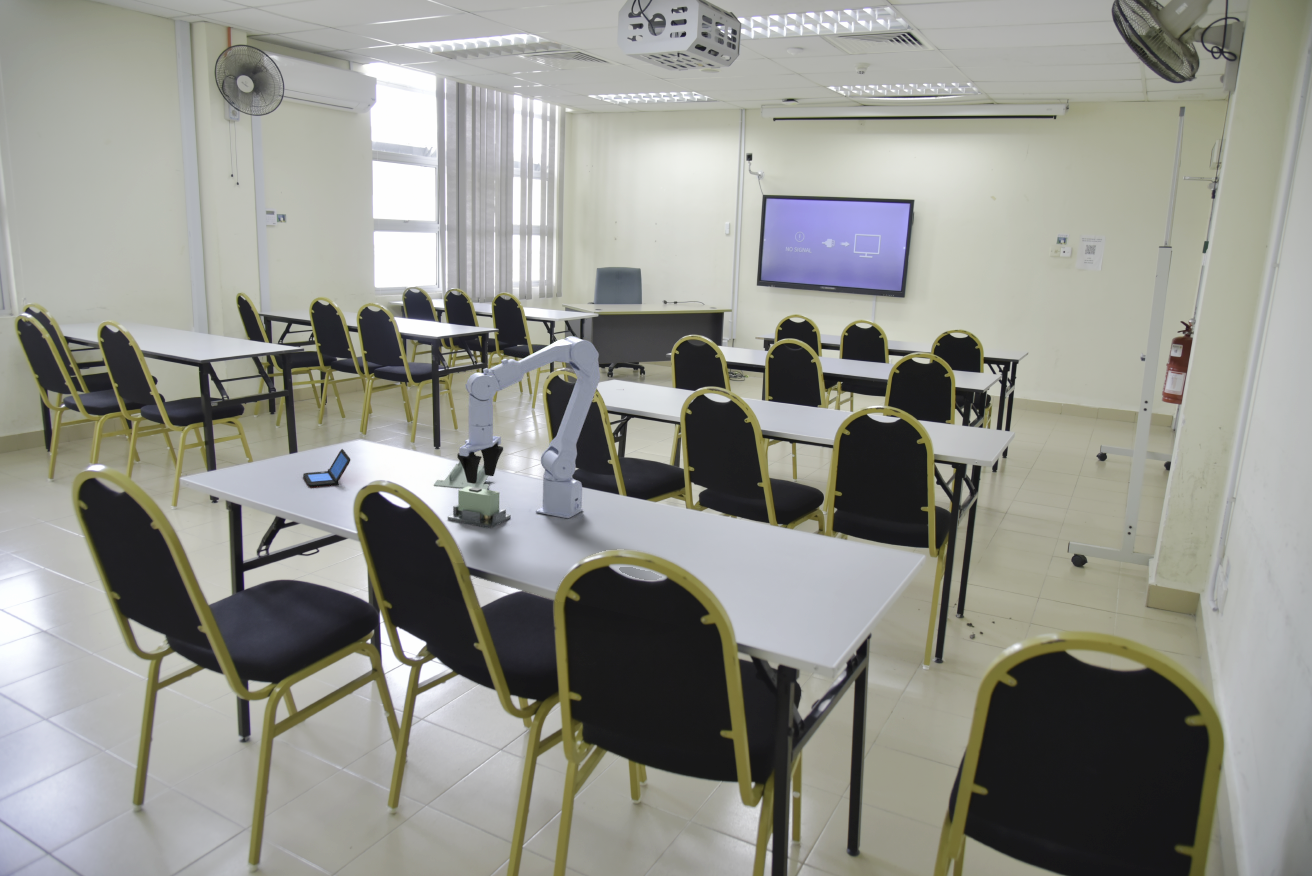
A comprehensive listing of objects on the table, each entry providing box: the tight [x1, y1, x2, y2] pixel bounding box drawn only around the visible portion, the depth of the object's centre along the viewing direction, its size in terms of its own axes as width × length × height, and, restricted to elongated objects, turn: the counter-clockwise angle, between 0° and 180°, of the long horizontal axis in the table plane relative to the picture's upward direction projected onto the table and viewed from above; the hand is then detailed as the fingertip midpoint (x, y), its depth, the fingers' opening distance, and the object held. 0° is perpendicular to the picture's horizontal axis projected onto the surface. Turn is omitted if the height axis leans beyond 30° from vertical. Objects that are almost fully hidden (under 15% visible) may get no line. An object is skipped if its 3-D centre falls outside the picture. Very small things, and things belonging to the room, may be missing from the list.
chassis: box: [447, 503, 512, 529], centre depth 207 cm, size 12×9×3 cm
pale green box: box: [457, 486, 500, 516], centre depth 207 cm, size 9×4×5 cm, turn 67°
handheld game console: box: [302, 448, 351, 488], centre depth 233 cm, size 12×11×7 cm
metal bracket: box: [433, 460, 490, 490], centre depth 238 cm, size 14×6×15 cm
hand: (480, 479), depth 206 cm, fingers open, 7 cm apart
